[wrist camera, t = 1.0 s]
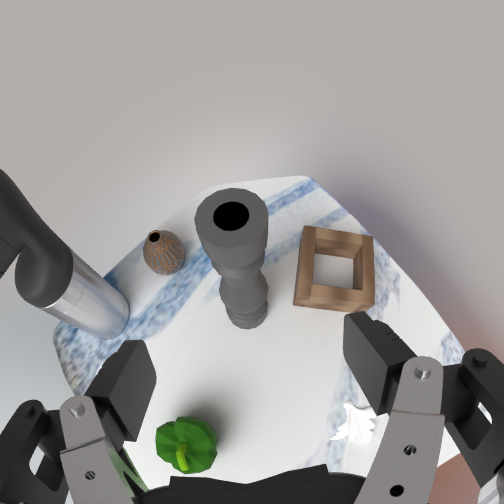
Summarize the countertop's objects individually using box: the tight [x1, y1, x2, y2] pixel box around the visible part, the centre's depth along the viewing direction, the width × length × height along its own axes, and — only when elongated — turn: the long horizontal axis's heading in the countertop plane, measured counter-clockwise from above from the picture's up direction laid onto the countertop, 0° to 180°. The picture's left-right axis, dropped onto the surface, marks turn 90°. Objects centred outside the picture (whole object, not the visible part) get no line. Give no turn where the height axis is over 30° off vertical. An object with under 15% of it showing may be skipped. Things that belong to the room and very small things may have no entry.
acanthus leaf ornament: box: [330, 401, 377, 444], centre depth 33 cm, size 8×7×2 cm
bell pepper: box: [155, 417, 218, 474], centre depth 28 cm, size 8×8×10 cm
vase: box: [143, 230, 185, 275], centre depth 43 cm, size 7×7×9 cm
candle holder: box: [194, 188, 269, 329], centre depth 32 cm, size 6×6×25 cm
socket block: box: [293, 225, 375, 313], centre depth 43 cm, size 12×12×5 cm
